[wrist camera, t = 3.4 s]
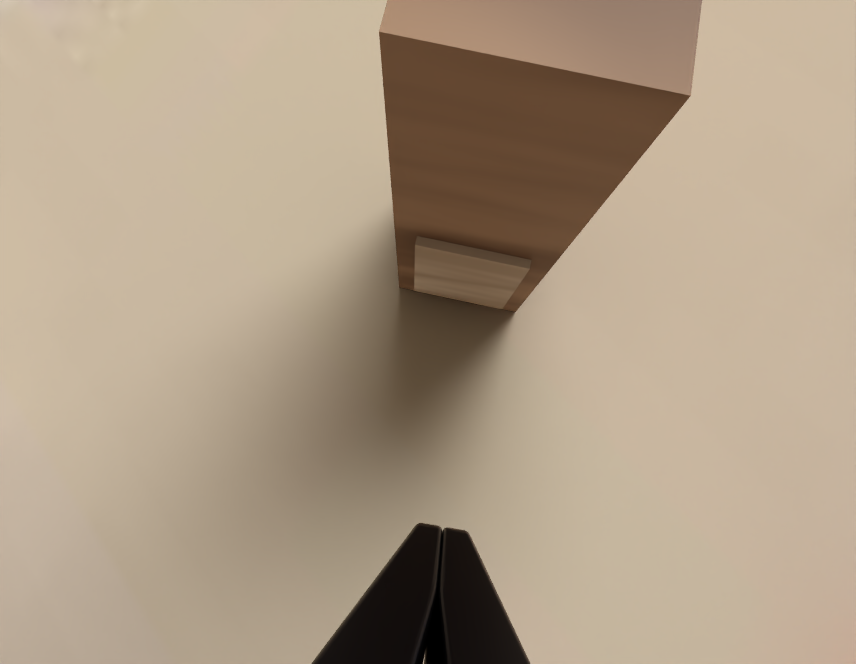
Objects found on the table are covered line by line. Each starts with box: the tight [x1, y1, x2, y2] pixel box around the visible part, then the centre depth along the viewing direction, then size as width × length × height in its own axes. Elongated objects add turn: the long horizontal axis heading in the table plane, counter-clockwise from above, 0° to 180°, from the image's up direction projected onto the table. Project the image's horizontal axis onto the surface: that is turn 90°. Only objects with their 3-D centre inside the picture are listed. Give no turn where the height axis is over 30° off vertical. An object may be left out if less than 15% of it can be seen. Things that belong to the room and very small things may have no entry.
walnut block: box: [379, 0, 702, 312], centre depth 15 cm, size 5×5×14 cm
